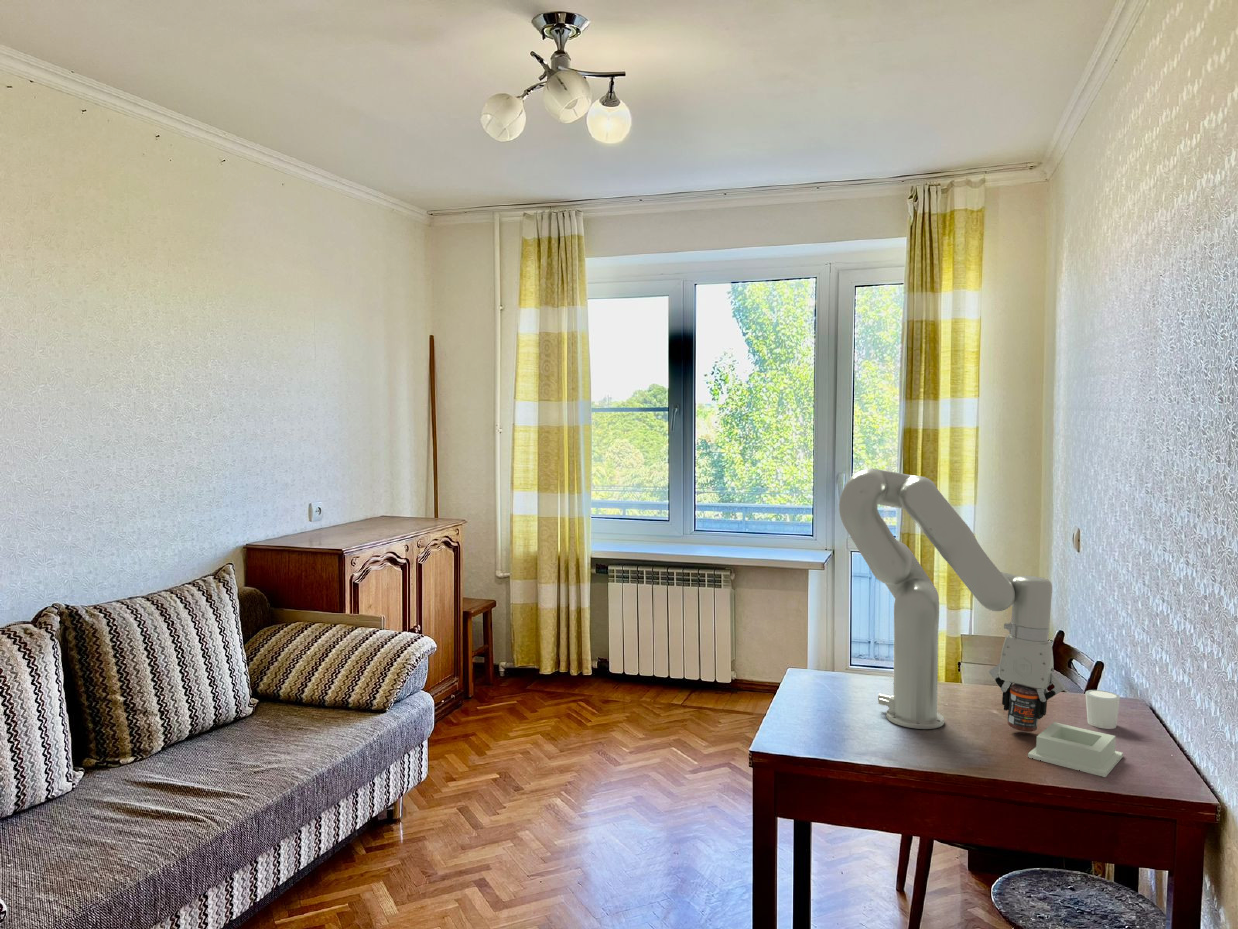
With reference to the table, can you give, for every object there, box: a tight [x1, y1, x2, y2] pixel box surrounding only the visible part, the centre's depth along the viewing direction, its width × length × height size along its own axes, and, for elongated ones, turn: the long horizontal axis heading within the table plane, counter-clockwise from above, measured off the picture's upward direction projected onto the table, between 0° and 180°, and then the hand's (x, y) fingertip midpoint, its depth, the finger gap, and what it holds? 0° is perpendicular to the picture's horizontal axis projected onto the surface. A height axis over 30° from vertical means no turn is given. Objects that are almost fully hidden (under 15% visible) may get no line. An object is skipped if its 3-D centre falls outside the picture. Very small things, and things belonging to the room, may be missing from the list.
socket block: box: [1027, 722, 1124, 778], centre depth 168 cm, size 14×14×4 cm
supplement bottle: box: [1007, 683, 1039, 733], centre depth 180 cm, size 6×6×11 cm
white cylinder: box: [1084, 689, 1121, 730], centre depth 186 cm, size 7×7×7 cm
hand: (1023, 712), depth 181 cm, fingers closed on supplement bottle, 6 cm apart
